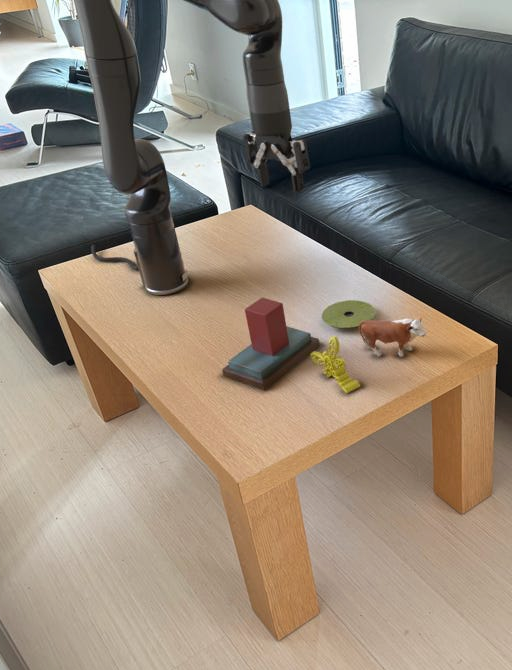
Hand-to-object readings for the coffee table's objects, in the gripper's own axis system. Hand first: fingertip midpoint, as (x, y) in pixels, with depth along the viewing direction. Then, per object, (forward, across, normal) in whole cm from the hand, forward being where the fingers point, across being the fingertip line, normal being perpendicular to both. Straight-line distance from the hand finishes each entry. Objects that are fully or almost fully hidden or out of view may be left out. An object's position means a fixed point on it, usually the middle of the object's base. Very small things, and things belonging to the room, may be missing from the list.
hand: (281, 188), depth 148 cm
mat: (+26, -15, +2) cm, 30 cm away
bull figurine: (+26, -30, +8) cm, 41 cm away
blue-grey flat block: (+26, -10, +21) cm, 35 cm away
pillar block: (+23, -10, +21) cm, 33 cm away
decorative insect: (+26, -24, +20) cm, 41 cm away
